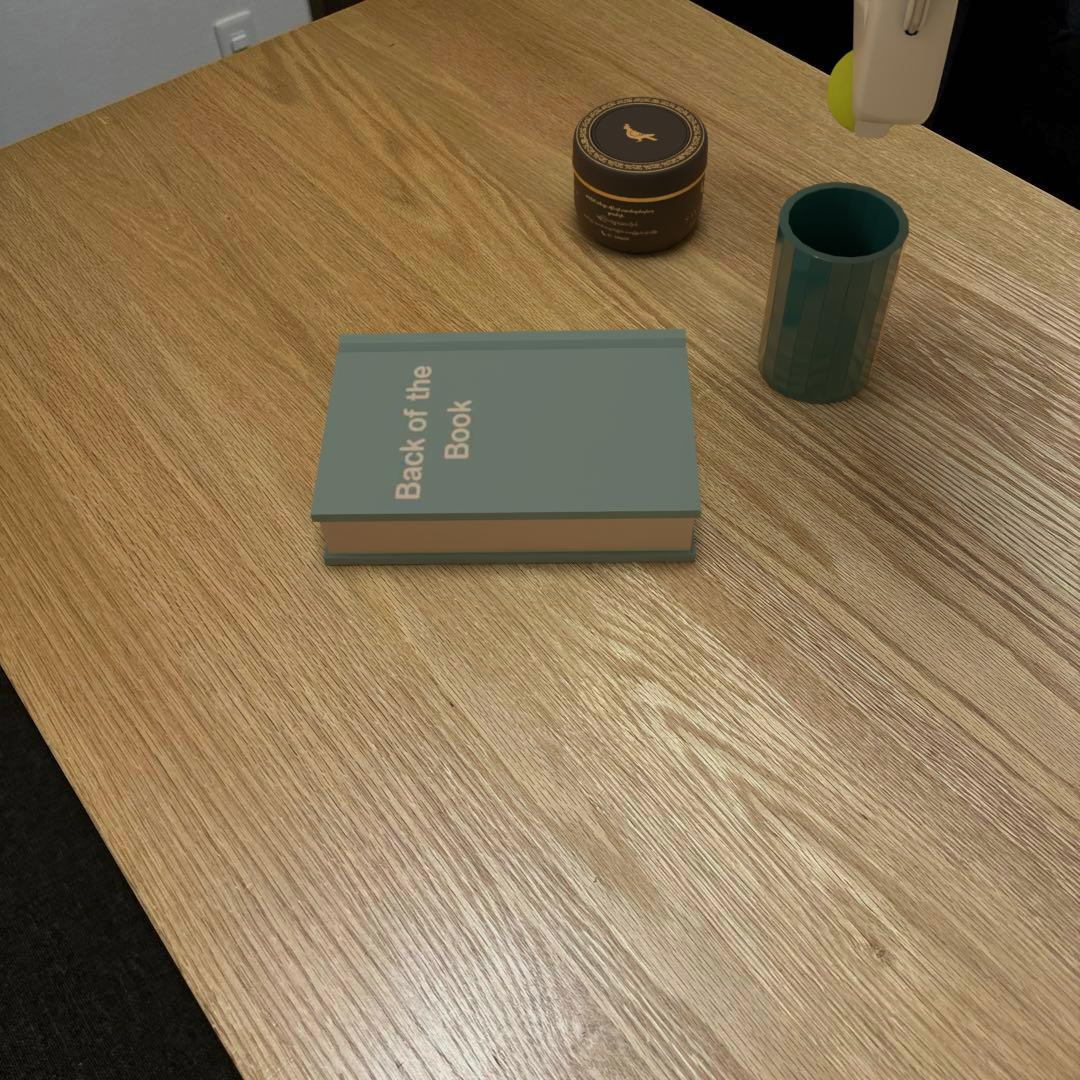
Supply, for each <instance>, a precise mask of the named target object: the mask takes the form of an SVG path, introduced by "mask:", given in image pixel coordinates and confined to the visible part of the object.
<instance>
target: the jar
mask: <svg viewBox="0 0 1080 1080" xmlns="http://www.w3.org/2000/svg"><path fill="white" fill-rule="evenodd" d="M708 152H709V134H708V130H707V128H706V126H705V124H704V122H703V121H702V119H701V118H700V117H699V116H698V114H696V113H695V112H694V111H692V110H691V109H689V108H688V107H686V106H684V105H682V104H680V103H677V102H676V101H672V100H669V99H665V98H661V97H660V98H659V97H655V96H629V97H628V96H626V97H621V98H617V99H612V100H608V101H607V102H604V103H601V104H599V105H597V106H595V107H594V108H592V109H590V110H589V111H588V112H587V113H585V114H584V115H583V116H582V118H581V119H580V120H579V121H578V123H577V125H576V127H575V129H574V133H573V138H572V152H571V167H572V170H573V202H574V208H575V212H576V214H577V218H578V220H579V224H580V226H581V227H582V230H583V231H584V232H585V233H586V234H587V235H588V236H589V237H590V238H591V239H592V240H593V241H594V242H596V243H597V244H599V245H600V246H602V247H604V248H606V249H609V250H611V251H615V252H618V253H624V254H631V255H644V254H652V253H657V252H661V251H664V250H667V249H669V248H671V247H673V246H675V245H676V244H678V243H679V242H681V241H682V240H684V238H686V237H687V236H689V234H690V233H691V232H692V230H693V229H694V227H695V225H696V222H697V220H698V218H699V216H700V213H701V210H702V206H703V201H704V191H705V179H706V171H707V167H708V159H709V153H708Z"/></svg>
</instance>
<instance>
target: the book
mask: <svg viewBox="0 0 1080 1080" xmlns="http://www.w3.org/2000/svg"><path fill="white" fill-rule="evenodd" d="M686 334H687V333H686V328H644V329H643V328H641V329H638V328H635V329H634V328H633V329H573V330H516V331H515V330H513V331H506V330H505V331H453V332H452V331H451V332H447V331H446V332H441V331H440V332H389V333H388V332H387V333H386V332H384V333H383V332H382V333H340V334H339V335H338V343H337V344H338V345H337V347H338V348H337V351H338V352H336V355H335V356H336V357H335V362H334V367H333V373H332V381H331V386H330V392H329V398H328V404H327V410H326V415H325V421H324V422H325V423H324V429H323V434H322V440H321V447H320V453H319V457H318V458H319V459H318V465H317V471H316V478H315V484H314V490H313V496H312V501H311V506H310V507H311V509H310V518H311V521H312V523H320V529H321V531H322V534H323V538H324V541H325V545H324V552H323V561H324V562H323V563H324V565H325V566H360V565H361V566H364V565H365V566H367V565H368V566H369V565H371V566H373V565H376V566H377V565H451V564H452V565H466V564H467V565H468V564H469V565H471V564H472V565H473V564H474V565H475V564H476V565H477V564H478V565H479V564H487V565H488V564H572V563H573V564H578V563H579V564H583V563H587V564H588V563H591V564H592V563H593V564H594V563H682V562H683V563H684V562H687V563H689V562H693V563H694V562H696V558H697V557H696V556H697V551H696V540H695V539H696V538H695V528H694V527H695V525H694V521H695V519H701V515H702V502H701V492H700V491H701V490H700V483H699V482H700V481H699V480H700V479H699V470H698V459H697V447H696V435H695V423H694V412H693V401H692V392H691V391H692V390H691V380H690V379H691V378H690V367H689V357H688V347H687V337H686V336H687V335H686Z"/></svg>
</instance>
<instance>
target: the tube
mask: <svg viewBox="0 0 1080 1080" xmlns="http://www.w3.org/2000/svg"><path fill="white" fill-rule="evenodd" d="M909 235H910V221H909V218H908V216H907V214H906V212H905V211H904V208H903V207H902V206H901V205H900V204H899V203H898V202H896V200H895V199H894V198H892V197H891V196H889V195H887V194H885V193H884V192H881V191H880V190H877V189H875V188H874V187H870V186H868V185H867V186H866V185H863V184H859V183H855V182H846V181H845V182H843V181H829V182H821V183H815V184H813V185H809V186H807V187H804V188H801V189H799V190H797V191H795V192H794V193H793V194H792V195H790V196H789V197H788V198H787V199H786V200H785V201H784V203H783V204H782V206H781V208H780V209H779V212H778V219H777V226H776V232H775V238H774V244H773V251H772V258H771V265H770V269H769V277H768V283H767V290H766V296H765V303H764V309H763V317H762V322H761V329H760V336H759V343H758V351H757V366H758V369H759V373H760V375H761V376H762V377H763V379H764V380H765V382H766V383H767V384H768V385H769V386H770V387H771V388H772V389H774V390H775V391H776V392H778V393H780V394H781V395H784V396H785V397H787V398H790V399H792V400H795V401H798V402H803V403H808V404H819V405H820V404H832V403H837V402H841V401H844V400H847V399H850V398H851V397H853V396H855V395H857V394H858V393H860V392H861V390H863V389H864V388H865V387H866V385H867V384H868V382H869V381H870V379H871V376H872V373H873V371H874V367H875V363H876V360H877V356H878V352H879V348H880V345H881V341H882V337H883V334H884V330H885V326H886V321H887V318H888V314H889V311H890V307H891V303H892V299H893V295H894V292H895V289H896V284H897V281H898V277H899V273H900V269H901V265H902V262H903V258H904V254H905V250H906V246H907V244H908V243H907V242H908V239H909Z"/></svg>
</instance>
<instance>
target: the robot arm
mask: <svg viewBox="0 0 1080 1080" xmlns="http://www.w3.org/2000/svg"><path fill="white" fill-rule="evenodd" d="M958 4H959V0H853V35H852V36H853V37H852V38H853V40H852V42H853V45H852V50H853V92H852V111H853V115H854V117H855V121H854V131H855V133H854V134H855V135H856V136H857V137H859V138H862V139H863V138H864V139H877V140H878V139H883V138H885V137H887V136H888V134H889V133H890V130H891V128H890V125H891V124H895V125H897V126H898V125H899V126H919V125H922V124H924V123H925V122H926V121H927V120H928V118H930V115H931V113H932V111H933V110H934V107H935V104H936V101H937V97H938V92H939V88H940V84H941V80H942V76H943V71H944V68H945V63H946V59H947V55H948V50H949V45H950V42H951V37H952V33H953V27H954V23H955V20H956V14H957V9H958ZM895 125H894V126H895Z"/></svg>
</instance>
